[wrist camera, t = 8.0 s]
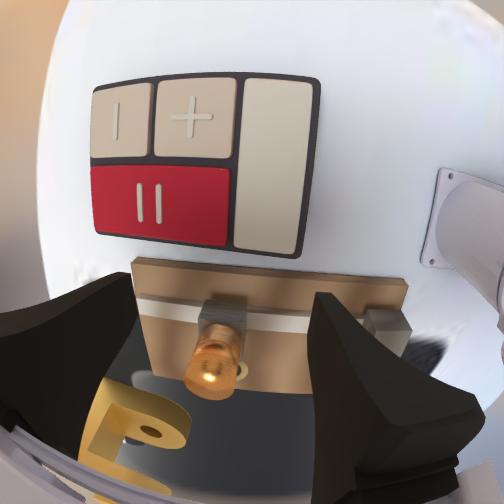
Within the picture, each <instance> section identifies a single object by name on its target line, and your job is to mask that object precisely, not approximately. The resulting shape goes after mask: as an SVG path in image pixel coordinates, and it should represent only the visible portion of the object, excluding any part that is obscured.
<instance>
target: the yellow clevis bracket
mask: <svg viewBox="0 0 504 504" xmlns="http://www.w3.org/2000/svg"><path fill="white" fill-rule="evenodd" d="M191 422H192V421H191V417H190V415H189V414H188V413H187V412H186V411H185V410H184V409H183V408H182V407H181V406H179V405H178V404H176V403H175V402H173V401H171V400H169V399H167V398H165V397H163V396H160V395H157V394H154V393H151V392H147V391H144V390H141V389H138V388H135V387H131V386H128V385H125V384H122V383H120V382H117V381H114V380H111V379H109V378H106V377H103V379H102V381H101V383H100V386H99V388H98V391H97V393H96V395H95V398H94V400H93V403H92V406H91V409H90V412H89V414H88V418H87V421H86V425H85V428H84V432H83V435H82V440H81V445H80V450H79V456H78V461H77V462H79V463H81V464H84V465H86V466H88V467H90V468H92V469H94V470H97V471H99V472H101V473H104V474H106V475H108V476H111V477H113V478H116V479H119V480H121V481H124V482H127V483H129V484H132V485H135V486H138V487H141V488H144V489H148V490H151V491H154V492H158V493H161V494H165V495H169V496H171V493H172V491H171V490H170V489H169V488H168V487H166V486H164V485H163V484H161V483H159V482H157V481H155V480H153V479H151V478H149V477H147V476H145V475H143V474H140V473H138V472H136V471H133V470H131V469H128V468H126V467H123V466H121V465H118V464H116V463H114V461H115V458H116V456H117V454H118V451H119V449H120V446H121V444H122V442H123V440H124V437H125V436H128V437H131V438H133V439H136V440H139V441H142V442H145V443H148V444H151V445H154V446H158V447H162V448H169V449H177V448H181V447H183V446H184V445H185V444H186V440H187V437H188V433H189V430H190V426H191ZM93 498H94V499H95V500H96V501H98V502H99V503H101V504H120V503H117V502H115V501H112V500H110V499H108V498H105V497H103V496H101V495H98V494H96V493H95V495H94V497H93Z"/></svg>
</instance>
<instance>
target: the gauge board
mask: <svg viewBox="0 0 504 504" xmlns="http://www.w3.org/2000/svg"><path fill="white" fill-rule="evenodd" d="M131 269H132V275H133V282H134V288H135V293H136V299H137V304H138V310H139V315H140V320H141V324H142V329H143V334H144V338H145V342H146V347H147V351H148V355H149V359H150V363H151V366H152V370H153V374H154V375H157V376H162V377H167V378H172V379H177V380H182V381H184V375H185V373H186V370H187V367H188V365H189V362H190V359H191V356H192V354H193V351H194V348H195V346H196V343H197V340H198V338H199V330H198V316H199V314H200V312H201V309H202V307H203V305H204V302H205V300H206V299H210V300H219V301H228V302H238V303H247V314H246V334H245V345H244V351H243V356H242V362H239V366H238V371H237V377H236V382H235V389H244V390H254V391H265V392H279V393H300V394H313V392H312V385H311V379H310V372H309V365H308V358H307V332H308V327H309V322H310V317H311V312H312V307H313V302H314V297H315V292H329V293H332V294H333V295H334V296H335V297H336V298H337V299H338V300H339V301H340V302H341V303H342V304H343V306H344V307H345V308H346V309H347V310H348V311H349V312H350V313H351V314H352V315H353V316H354V318H355V319H356V320H357V321H358V322H359V323H360V324H361V325H362V326H363V327H364V328H365V329H366V330H367V331H368V332H370V333H371V334H372V335H373V336H374V337H375V338H376V339H377V340H378V341H379V342H381V343H382V344H383V345H384V346H386V347H387V348H388V349H389V350H391V351H392V352H393V353H395V354H396V355H397V356H399V357H401V355H402V353H403V351H404V349H405V347H406V344H407V342H408V340H409V338H410V335H411V333H412V331H413V330H412V328H411V327H410V325H409V323H408V321H407V320H406V318H405V316H404V314H403V313H402V311H401V307H402V305H403V302H404V299H405V296H406V293H407V290H408V287H409V286H408V285H407V283H406V282H405V281H404V279H395V278H379V277H364V276H350V275H336V274H322V273H309V272H296V271H284V270H271V269H259V268H248V267H236V266H225V265H214V264H203V263H192V262H182V261H171V260H161V259H151V258H141V257H137V258H136V259H135V260H134V261H133V262H131Z"/></svg>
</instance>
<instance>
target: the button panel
mask: <svg viewBox="0 0 504 504" xmlns="http://www.w3.org/2000/svg"><path fill="white" fill-rule="evenodd" d="M320 93H321V84H320V82H319V80H317V79H316V78H312V77H305V76H296V75H286V74H273V73H255V72H204V73H186V74H174V75H163V76H155V77H147V78H140V79H133V80H127V81H121V82H116V83H111V84H106V85H101V86H98V87H96V88H95V89H94V91H93V96H92V106H91V124H90V167H91V171H90V175H91V195H92V208H93V219H94V227H95V231H96V232H97V233H98V234H101V235H109V236H116V237H124V238H132V239H139V240H147V241H155V242H163V243H170V244H178V245H186V246H194V247H202V248H209V249H217V250H225V251H233V252H241V253H249V254H256V255H264V256H272V257H280V258H288V259H297V258H299V257H300V256H301V254H302V248H303V242H304V235H305V228H306V221H307V214H308V207H309V199H310V191H311V183H312V175H313V167H314V158H315V148H316V139H317V128H318V118H319V106H320Z"/></svg>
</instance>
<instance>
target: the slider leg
mask: <svg viewBox="0 0 504 504" xmlns="http://www.w3.org/2000/svg"><path fill="white" fill-rule="evenodd" d="M246 314H247V303H238V302H228V301H219V300H210V299H206V300H205V302H204V305H203V307H202V309H201V312H200V314H199V316H198V330H199V338H198V340H197V343H196V346H195V348H194V351H193V354H192V356H191V359H190V362H189V365H188V367H187V370H186V373H185V375H184V383H185V385H186V387H187V388H188V389H189V390H190V391H191V392H192V393H194V394H196V395H197V396H200V397H202V398H206V399H211V400H221V399H225V398H228V397H229V396H231V395H232V393H233V392H234V388H235V382H236V377H237V371H238V366H239V362H242V356H243V351H244V345H245V334H246Z"/></svg>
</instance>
